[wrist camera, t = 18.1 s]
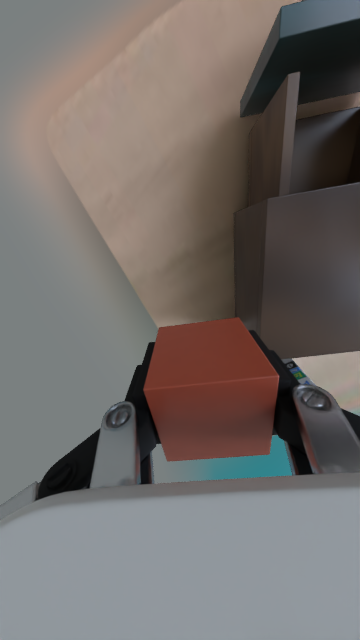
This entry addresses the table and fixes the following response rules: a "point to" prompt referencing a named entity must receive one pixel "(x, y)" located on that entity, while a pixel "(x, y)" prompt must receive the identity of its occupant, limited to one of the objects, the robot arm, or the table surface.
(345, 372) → the table surface
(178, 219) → the table surface
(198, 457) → the block
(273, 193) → the drawer
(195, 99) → the table surface
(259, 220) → the cabinet
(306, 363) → the table surface
